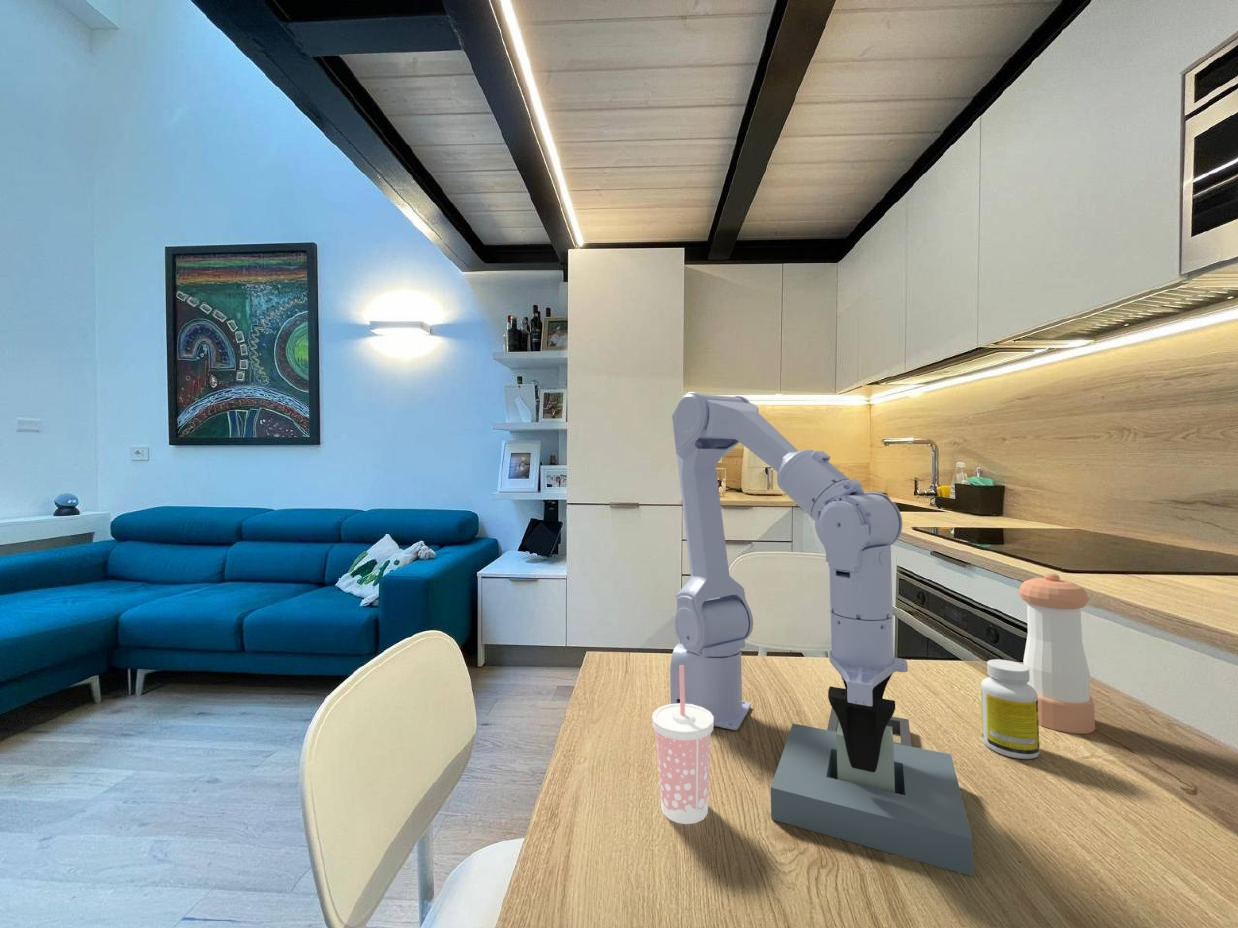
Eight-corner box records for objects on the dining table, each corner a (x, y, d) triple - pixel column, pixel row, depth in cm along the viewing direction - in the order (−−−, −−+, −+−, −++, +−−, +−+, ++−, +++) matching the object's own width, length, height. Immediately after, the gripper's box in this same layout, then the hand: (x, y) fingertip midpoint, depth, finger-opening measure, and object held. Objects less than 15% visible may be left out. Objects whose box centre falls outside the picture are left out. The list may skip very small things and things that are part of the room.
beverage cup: (696, 784, 54) (694, 651, 55) (728, 819, 49) (724, 671, 49) (644, 797, 52) (641, 659, 53) (670, 836, 47) (667, 681, 47)
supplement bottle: (1051, 763, 57) (1047, 674, 57) (996, 758, 58) (993, 672, 59) (1023, 738, 63) (1020, 658, 63) (973, 735, 64) (971, 655, 64)
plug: (838, 805, 51) (836, 724, 51) (840, 783, 54) (838, 707, 54) (895, 820, 48) (893, 734, 48) (894, 796, 52) (891, 716, 52)
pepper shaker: (1040, 703, 72) (1034, 566, 72) (1106, 725, 65) (1100, 575, 66) (1010, 714, 69) (1005, 571, 69) (1077, 739, 62) (1071, 581, 63)
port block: (771, 819, 49) (770, 787, 49) (793, 748, 61) (792, 723, 61) (973, 876, 41) (972, 838, 41) (952, 783, 54) (951, 754, 54)
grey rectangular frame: (826, 745, 62) (826, 732, 62) (832, 717, 69) (832, 705, 69) (912, 763, 58) (912, 749, 58) (908, 731, 65) (908, 719, 65)
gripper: (909, 638, 43) (914, 800, 43) (903, 600, 56) (906, 724, 56) (821, 628, 47) (824, 779, 46) (833, 594, 60) (836, 712, 59)
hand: (864, 748), depth 51 cm, fingers open, 7 cm apart
